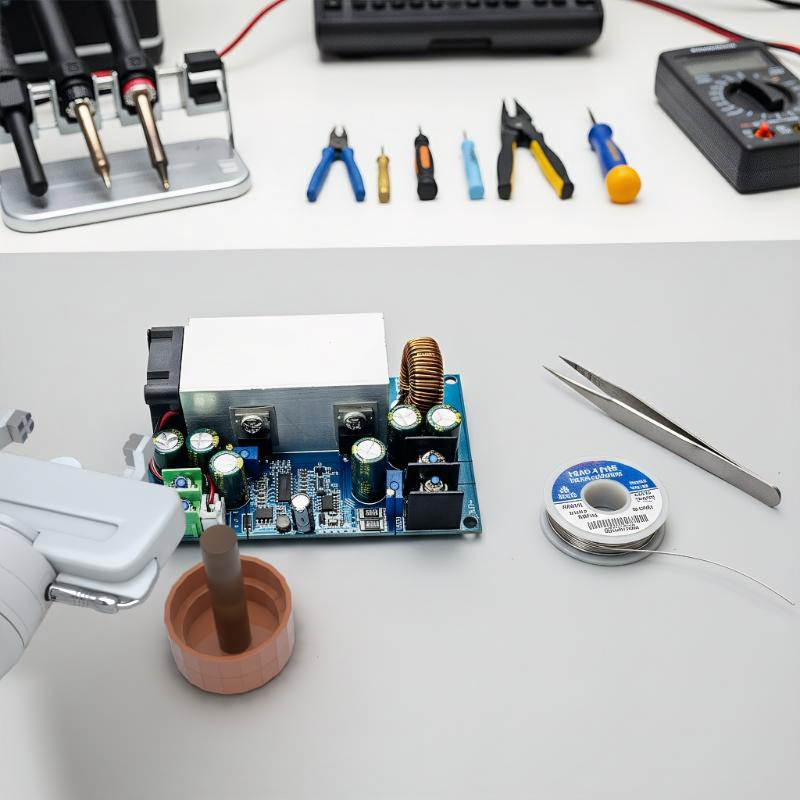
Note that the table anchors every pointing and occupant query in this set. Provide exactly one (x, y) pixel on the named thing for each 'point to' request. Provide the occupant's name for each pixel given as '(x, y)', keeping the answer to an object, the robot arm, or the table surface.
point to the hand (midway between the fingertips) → (83, 428)
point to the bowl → (198, 635)
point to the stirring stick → (226, 587)
